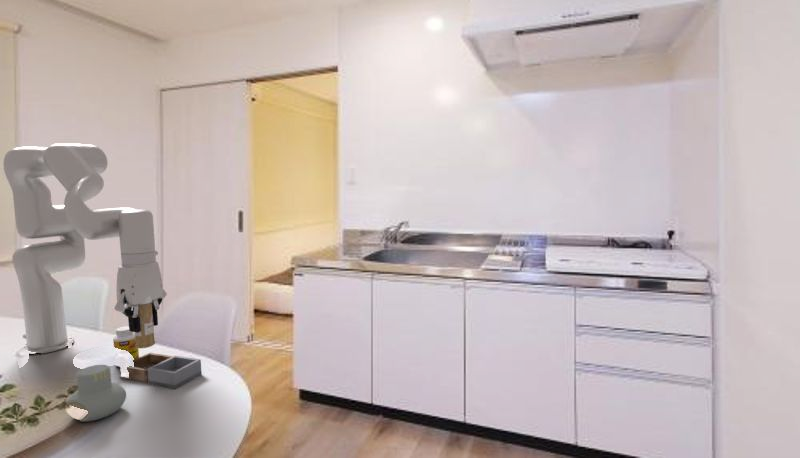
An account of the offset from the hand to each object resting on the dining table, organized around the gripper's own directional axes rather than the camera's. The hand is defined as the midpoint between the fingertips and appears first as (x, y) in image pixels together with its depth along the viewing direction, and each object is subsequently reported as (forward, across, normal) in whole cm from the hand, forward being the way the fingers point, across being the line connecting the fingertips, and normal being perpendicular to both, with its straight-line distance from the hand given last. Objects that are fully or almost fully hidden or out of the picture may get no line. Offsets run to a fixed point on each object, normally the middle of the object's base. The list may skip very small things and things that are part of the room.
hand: (144, 327), depth 114 cm
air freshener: (+12, +19, +8) cm, 24 cm away
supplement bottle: (+12, -2, -9) cm, 16 cm away
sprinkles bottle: (+5, 0, 0) cm, 5 cm away
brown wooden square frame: (+12, 0, +1) cm, 12 cm away
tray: (+12, +1, +11) cm, 16 cm away
